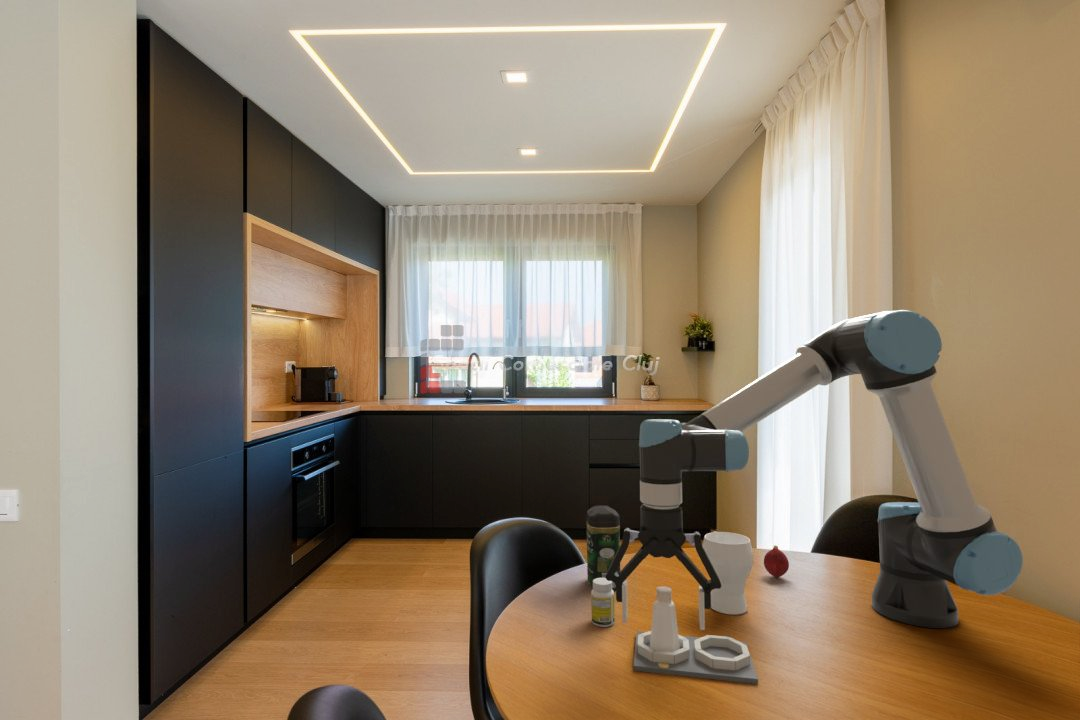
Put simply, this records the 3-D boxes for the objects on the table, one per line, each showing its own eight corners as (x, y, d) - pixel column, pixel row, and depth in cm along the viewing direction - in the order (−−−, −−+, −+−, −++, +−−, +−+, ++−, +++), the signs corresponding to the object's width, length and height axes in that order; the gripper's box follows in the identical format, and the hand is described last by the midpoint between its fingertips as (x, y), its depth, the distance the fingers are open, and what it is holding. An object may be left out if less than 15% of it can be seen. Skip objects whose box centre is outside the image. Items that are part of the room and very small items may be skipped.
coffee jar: (585, 577, 136) (584, 503, 137) (616, 577, 136) (615, 503, 137) (590, 592, 127) (589, 512, 127) (623, 591, 127) (622, 512, 128)
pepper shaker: (652, 641, 101) (651, 581, 101) (682, 646, 99) (681, 585, 99) (647, 654, 96) (646, 591, 96) (678, 660, 94) (677, 595, 94)
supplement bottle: (601, 615, 114) (601, 575, 114) (619, 622, 111) (618, 580, 111) (586, 622, 111) (586, 581, 111) (604, 630, 107) (604, 587, 108)
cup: (758, 620, 111) (757, 546, 112) (705, 615, 114) (704, 543, 114) (749, 599, 122) (748, 532, 122) (700, 596, 124) (699, 530, 125)
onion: (793, 582, 132) (792, 549, 133) (769, 582, 132) (769, 549, 133) (783, 574, 138) (782, 542, 138) (760, 574, 138) (759, 542, 138)
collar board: (745, 646, 100) (745, 633, 100) (758, 684, 88) (757, 669, 88) (636, 635, 105) (636, 623, 105) (633, 670, 92) (633, 656, 92)
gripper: (730, 502, 99) (732, 620, 98) (595, 497, 105) (596, 608, 104) (736, 512, 92) (738, 639, 91) (590, 506, 97) (591, 625, 97)
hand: (662, 623), depth 98 cm, fingers open, 13 cm apart
